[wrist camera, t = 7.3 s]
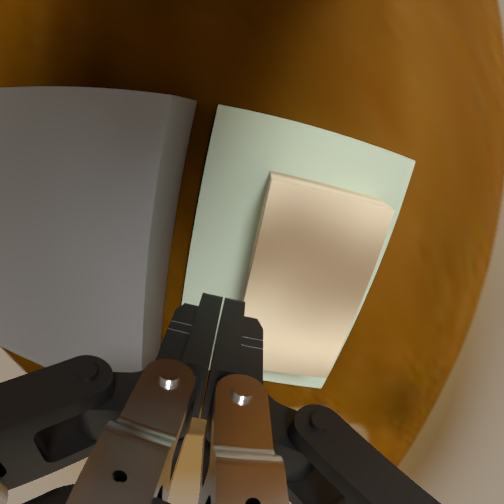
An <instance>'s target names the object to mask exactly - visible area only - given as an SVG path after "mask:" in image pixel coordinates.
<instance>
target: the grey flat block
mask: <svg viewBox="0 0 504 504" xmlns="http://www.w3.org/2000/svg"><path fill="white" fill-rule="evenodd" d="M196 105H197V101H196V100H192V99H188V98H184V97H179V96H175V95H169V94H161V93H153V92H144V91H134V90H123V89H110V88H94V87H67V86H32V87H6V88H0V346H1V347H3V348H5V349H7V350H9V351H11V352H13V353H15V354H18V355H20V356H22V357H24V358H26V359H28V360H30V361H33V362H35V363H37V364H39V365H42V366H44V367H48V366H51V365H54V364H57V363H60V362H63V361H65V360H68V359H71V358H74V357H77V356H81V355H93V356H97V357H99V358H101V359H103V360H105V361H106V362H107V363H108V364H109V365H110V367H111V368H112V371H113V372H138V371H142V370H144V369H145V367H146V366H147V365H148V364H149V363H151V362H152V361H155V360H156V357H157V355H158V352H159V350H160V347H161V336H162V324H163V314H164V304H165V294H166V285H167V277H168V268H169V260H170V253H171V245H172V238H173V231H174V224H175V218H176V211H177V205H178V199H179V193H180V187H181V181H182V175H183V170H184V164H185V159H186V153H187V148H188V143H189V138H190V133H191V128H192V123H193V119H194V114H195V109H196Z"/></svg>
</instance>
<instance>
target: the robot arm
mask: <svg viewBox="0 0 504 504" xmlns="http://www.w3.org/2000/svg"><path fill="white" fill-rule="evenodd" d="M222 300H223V297H221V296H216V295H212V294H207V293H203V294H202V297H201V300H200V303H199V306H196V305H192V304H187V303H184V304H183V305H182V306H180V307H179V308H177V309H176V310H175V313H174V315H173V317H172V321H171V322H170V325H169V327H168V330H167V332H166V335H165V337H164V340H163V342H162V345H161V347H160V350H159V352H158V355H157V357H156V360H155V361H152V362H151V363H149V364H148V365H147V366H146V367H145V369H144V370H142V371H138V372H113V371H112V368H111V367H110V365H109V364H108V363H107V362H106V361H105V360H103V359H101V358H99V357H97V356H93V355H81V356H77V357H74V358H71V359H68V360H65V361H63V362H60V363H57V364H54V365H51V366H48V367H46V368H43V369H40V370H37V371H34V372H31V373H28V374H25V375H23V376H19V377H17V378H14V379H11V380H8V381H5V382H2V383H0V504H6V502H7V499H8V490H10V489H12V488H15V487H18V486H21V485H23V484H26V483H28V482H31V481H33V480H36V479H38V478H40V477H43V476H45V475H48V474H50V473H53V472H55V471H57V470H60V469H62V468H64V467H66V466H68V465H71V464H73V463H75V462H77V461H80V460H82V459H84V458H86V457H88V456H89V457H88V459H87V461H86V463H85V465H84V467H83V470H82V471H81V473H80V475H79V477H78V479H77V481H76V483H75V484H72V485H67V486H62V487H59V488H56V489H54V490H51V491H49V492H47V493H45V494H43V495H41V496H38V497H36V498H34V499H32V500H30V501H27V502H25V503H23V504H170V503H168V502H167V499H168V495H169V491H170V486H171V482H172V480H173V476H174V473H175V470H176V467H177V463H178V460H179V457H180V454H181V451H182V448H183V444H184V441H185V438H186V434H187V433H188V431H189V428H190V424H191V419H192V417H196V418H198V417H199V412H200V407H201V403H202V398H203V393H204V388H205V384H206V379H207V374H208V369H209V364H210V359H211V354H212V349H213V344H214V339H215V334H216V330H217V325H218V320H219V315H220V310H221V305H222ZM244 312H245V302H244V301H239V300H235V299H230V298H226V297H225V299H224V304H223V308H222V313H221V317H220V322H219V326H218V331H217V336H216V340H215V345H214V350H213V355H212V360H211V366H210V371H209V376H208V381H207V386H206V392H205V397H204V402H203V408H202V413H201V419H206V420H207V424H206V430H205V434H204V438H203V448H202V465H201V482H200V494H199V502H198V504H289V501H290V502H291V503H292V504H441V503H439V502H438V501H437V500H436V499H434V498H433V497H432V496H431V495H429V494H428V493H427V492H426V491H425V490H423V489H422V488H421V487H420V486H418V485H417V484H416V483H415V482H414V481H412V480H411V479H410V478H409V477H408V476H406V475H405V474H404V473H403V472H402V471H400V470H399V469H398V468H397V467H396V466H395V465H394V464H392V463H391V462H390V461H389V460H388V459H387V458H385V457H384V456H383V455H382V454H381V453H380V452H379V451H377V450H376V449H375V448H374V447H373V446H372V445H371V444H370V443H368V442H367V441H366V440H365V439H364V438H363V437H362V436H361V435H359V434H358V433H357V432H356V431H355V430H354V429H353V428H352V427H351V426H350V425H349V424H347V423H346V422H345V421H344V420H343V419H342V418H341V417H340V416H339V415H338V414H337V413H335V412H334V411H333V410H331V409H330V408H327V407H325V406H322V405H314V404H313V405H307V406H304V407H302V408H300V409H299V410H298V411H296V410H294V409H291V408H288V407H286V406H283V405H281V404H279V403H278V402H276V401H275V400H273V399H272V398H271V397H270V396H269V395H268V393H267V390H266V388H265V387H264V386H263V328H262V326H261V324H260V322H259V321H258V319H256V318H251V317H246V316H244Z"/></svg>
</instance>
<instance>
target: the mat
mask: <svg viewBox="0 0 504 504" xmlns="http://www.w3.org/2000/svg"><path fill="white" fill-rule="evenodd" d="M414 165H415V161H414V160H412V159H409V158H407V157H404V156H402V155H399V154H396V153H394V152H391V151H388V150H385V149H383V148H380V147H377V146H374V145H371V144H368V143H365V142H362V141H359V140H356V139H353V138H350V137H347V136H344V135H341V134H337V133H334V132H331V131H328V130H324V129H321V128H317V127H314V126H310V125H306V124H303V123H299V122H295V121H291V120H288V119H284V118H280V117H276V116H271V115H267V114H263V113H258V112H254V111H249V110H245V109H240V108H235V107H230V106H225V105H219V104H218V108H217V112H216V117H215V121H214V126H213V130H212V135H211V139H210V144H209V149H208V154H207V159H206V164H205V169H204V174H203V179H202V184H201V189H200V194H199V200H198V205H197V211H196V216H195V222H194V228H193V234H192V240H191V246H190V252H189V258H188V264H187V271H186V277H185V284H184V291H183V298H182V305H183V304H184V303H187V304H192V305H196V306H199V303H200V300H201V297H202V294H203V293H207V294H212V295H216V296H221V297H223V300H222V305H221V310H220V315H219V320H218V325H217V330H216V334H215V339H214V344H213V349H212V354H211V359H210V364H209V369H208V370H210V366H211V360H212V355H213V350H214V345H215V340H216V336H217V331H218V326H219V322H220V317H221V313H222V308H223V304H224V299H225V297H226V298H230V299H235V300H239V301H241V299H242V295H243V290H244V286H245V281H246V277H247V272H248V268H249V264H250V259H251V255H252V250H253V246H254V241H255V237H256V232H257V228H258V224H259V219H260V215H261V210H262V206H263V201H264V197H265V192H266V188H267V184H268V179H269V175H270V171H274V172H279V173H284V174H288V175H292V176H297V177H301V178H305V179H309V180H313V181H318V182H322V183H326V184H330V185H334V186H337V187H341V188H345V189H349V190H353V191H356V192H360V193H364V194H367V195H371V196H374V197H378V198H380V199H381V200H382V201H383V202H385V203H386V204H387V205H389V206H390V207H391V208H392V209H394V210H395V211H394V214H393V217H392V220H391V223H390V226H389V229H388V232H387V235H386V238H385V241H384V244H383V246H382V249H381V252H380V255H379V257H378V260H377V263H376V265H375V268H374V271H373V273H372V276H371V278H370V281H369V284H368V286H367V289H366V291H365V294H364V296H363V298H362V301H361V303H360V306H359V308H358V310H357V313H356V315H355V318H354V320H353V322H352V324H351V327H350V329H349V331H348V333H347V336H346V338H345V340H344V342H343V345H344V343H345V341H346V339H347V337H348V335H349V333H350V331H351V329H352V327H353V324H354V322H355V320H356V318H357V316H358V314H359V311H360V309H361V307H362V305H363V302H364V300H365V298H366V296H367V293H368V291H369V289H370V286H371V284H372V282H373V279H374V277H375V274H376V272H377V270H378V267H379V265H380V262H381V260H382V257H383V255H384V252H385V249H386V247H387V244H388V242H389V239H390V236H391V234H392V231H393V228H394V225H395V223H396V220H397V217H398V214H399V211H400V208H401V205H402V203H403V200H404V197H405V194H406V190H407V187H408V184H409V181H410V178H411V175H412V171H413V168H414ZM182 305H181V306H182ZM343 345H342V347H343ZM342 347H341V349H342ZM341 349H340V351H341ZM340 351H339V353H340ZM339 353H338V355H339ZM338 355H337V357H338ZM337 357H336V359H337ZM336 359H335V361H336ZM334 363H335V362H334ZM333 365H334V364H333ZM332 367H333V366H332ZM331 369H332V368H331ZM330 371H331V370H330ZM329 373H330V372H329ZM328 375H329V374H328ZM327 377H328V376H327ZM326 379H327V378H320V377H311V376H303V375H295V374H288V373H280V372H273V371H267V370H263V380H265V381H271V382H277V383H284V384H291V385H298V386H305V387H313V388H322V386H323V384H324V382H325V380H326Z"/></svg>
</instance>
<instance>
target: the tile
mask: <svg viewBox="0 0 504 504" xmlns="http://www.w3.org/2000/svg"><path fill="white" fill-rule="evenodd" d="M394 211H395V210H394V209H392V208H391V207H390V206H389V205H387V204H386V203H385V202H383V201H382V200H381V199H380V198H378V197H374V196H371V195H367V194H364V193H360V192H356V191H353V190H349V189H345V188H341V187H337V186H334V185H330V184H326V183H322V182H318V181H313V180H309V179H305V178H301V177H297V176H292V175H288V174H284V173H279V172H274V171H270V175H269V179H268V184H267V188H266V192H265V197H264V201H263V206H262V210H261V215H260V219H259V224H258V228H257V232H256V237H255V241H254V246H253V250H252V255H251V259H250V264H249V268H248V272H247V277H246V281H245V286H244V290H243V295H242V299H241V301H244V302H245V312H244V316H246V317H251V318H256V319H258V321H259V322H260V324H261V326H262V328H263V370H267V371H273V372H280V373H288V374H295V375H303V376H311V377H320V378H327V376H328V374H329V372H330V370H331V368H332V366H333V364H334V362H335V359H336V357H337V355H338V353H339V351H340V349H341V347H342V345H343V342H344V340H345V338H346V336H347V333H348V331H349V329H350V327H351V324H352V322H353V320H354V318H355V315H356V313H357V310H358V308H359V306H360V303H361V301H362V298H363V296H364V294H365V291H366V289H367V286H368V284H369V281H370V278H371V276H372V273H373V271H374V268H375V265H376V263H377V260H378V257H379V255H380V252H381V249H382V246H383V244H384V241H385V238H386V235H387V232H388V229H389V226H390V223H391V220H392V217H393V214H394Z"/></svg>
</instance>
